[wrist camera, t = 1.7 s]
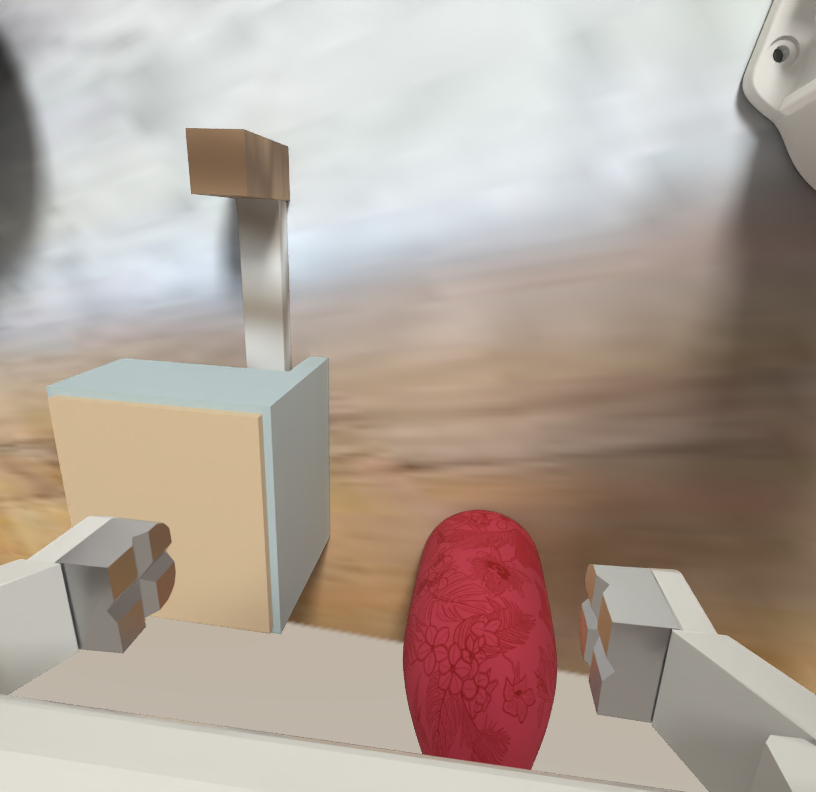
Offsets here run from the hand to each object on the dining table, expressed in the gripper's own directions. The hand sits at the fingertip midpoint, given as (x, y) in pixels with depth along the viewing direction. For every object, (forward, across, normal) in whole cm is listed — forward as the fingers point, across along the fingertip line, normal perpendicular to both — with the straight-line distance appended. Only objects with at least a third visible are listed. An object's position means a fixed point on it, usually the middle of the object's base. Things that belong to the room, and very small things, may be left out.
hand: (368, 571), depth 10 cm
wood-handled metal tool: (+30, +14, -3) cm, 33 cm away
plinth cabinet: (+30, +16, +11) cm, 36 cm away
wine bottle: (+30, -3, +20) cm, 36 cm away
